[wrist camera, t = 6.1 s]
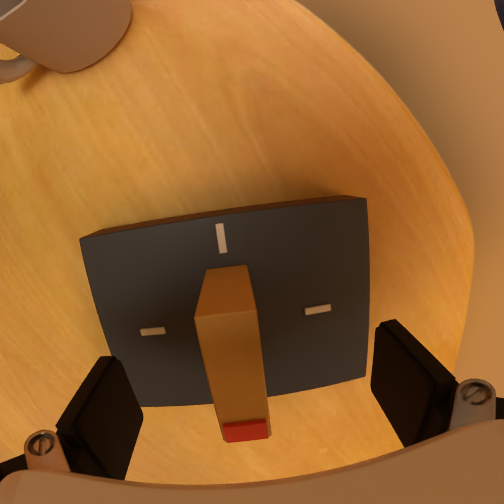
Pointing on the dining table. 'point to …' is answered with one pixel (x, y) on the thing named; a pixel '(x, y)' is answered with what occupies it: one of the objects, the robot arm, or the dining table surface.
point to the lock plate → (263, 286)
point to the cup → (59, 33)
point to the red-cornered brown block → (233, 353)
